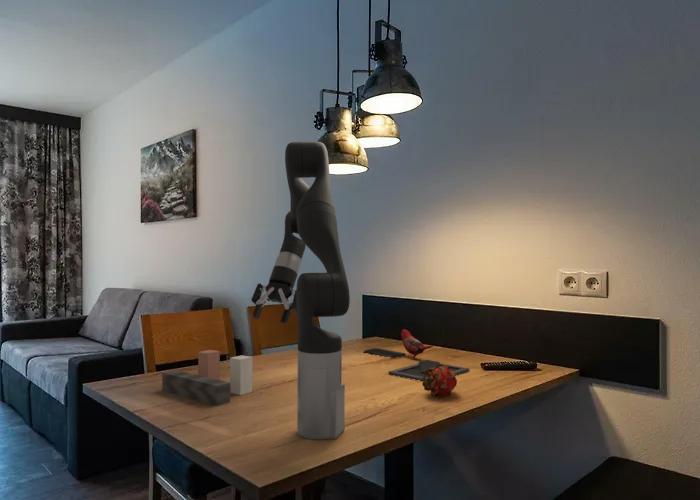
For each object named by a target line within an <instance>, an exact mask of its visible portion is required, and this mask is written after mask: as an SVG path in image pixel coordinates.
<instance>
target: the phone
mask: <svg viewBox="0 0 700 500" xmlns="http://www.w3.org/2000/svg"><path fill="white" fill-rule="evenodd" d="M366 353H369V354H368V355H372V354H374V356H377V355H379V356H378V357H382V356H384V357H383V358H387V357H390V358H389V359H397V358H396V357H398V358H400V356H403V357H406V356H405V355H406V354H407V353H406V352H399V351H394V350H388V349H383V348H378V347H377V348H375V347H374V348H371V349H365V350H363V354H366Z"/></svg>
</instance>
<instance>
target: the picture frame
mask: <svg viewBox="0 0 700 500" xmlns="http://www.w3.org/2000/svg"><path fill="white" fill-rule="evenodd" d="M436 366H447V367H448V368H449V369H451V370H452V371H453V372H454V373H455V377H457V376H459V374H460V375H462V373H463V374H466V373H469V372H470V368H469V367H463V366H457V365H453V364H452V365H451V364H445V363H441V362H439V361H435V360H431V359H424V360H421V361H418V363H416V364H415V363H413V364H411V365H407V366H404V367H400V368H397V369H393V370H389V371H388V375H389V374H390V375H389V376H393V375H395V376H394V377H398V376H400V377H399V378H403V377H405V378H404V379H407V378H410V379H409V380H412V379H415V380H414V381H417V380H420V381H419V382H422V381H423V377H424V376H425V374H424V372H425V370H429V369H430V368H434V367H436ZM468 371H469V372H468ZM465 372H466V373H465ZM456 375H457V376H456Z"/></svg>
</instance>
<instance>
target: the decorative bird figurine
mask: <svg viewBox="0 0 700 500" xmlns="http://www.w3.org/2000/svg"><path fill="white" fill-rule="evenodd" d="M400 336H401V339H402V344H403V346H404V349H405V350H406V352H407V353H408V354H410V355H412V356H409V355H408V356H407V357H408V358H410V359H411V360H418V359H417V356H418V355H420V354H422V353H424V352H425V350H428V349H431V348H434V346H433V345H424V344H423V343H422V342H421V341H419V340H418V339H417V338H415V337H414V336H412V334H411V332H410V331H408V330H407V329H406V328H405V329H402V331H401V333H400Z"/></svg>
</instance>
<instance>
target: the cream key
mask: <svg viewBox="0 0 700 500" xmlns="http://www.w3.org/2000/svg"><path fill="white" fill-rule="evenodd" d="M229 382H230V394H234V395H237V396H242V395H245V394H249V393H252V392H253V356H247V355H242V354H240V355H238V356H232V357H231V356H230V358H229Z"/></svg>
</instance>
